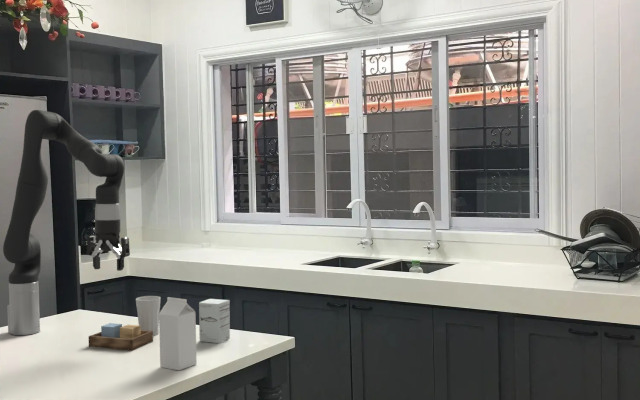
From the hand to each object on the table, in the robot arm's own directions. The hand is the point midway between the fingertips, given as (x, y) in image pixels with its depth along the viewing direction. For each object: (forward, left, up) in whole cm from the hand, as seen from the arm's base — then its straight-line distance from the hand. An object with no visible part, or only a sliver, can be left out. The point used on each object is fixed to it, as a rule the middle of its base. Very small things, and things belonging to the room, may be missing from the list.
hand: (108, 269), depth 222 cm
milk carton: (+34, -16, -24) cm, 44 cm away
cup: (+5, +14, -24) cm, 28 cm away
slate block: (0, 0, -23) cm, 23 cm away
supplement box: (+30, +13, -24) cm, 40 cm away
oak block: (+7, 0, -23) cm, 24 cm away
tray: (+4, 0, -23) cm, 24 cm away
